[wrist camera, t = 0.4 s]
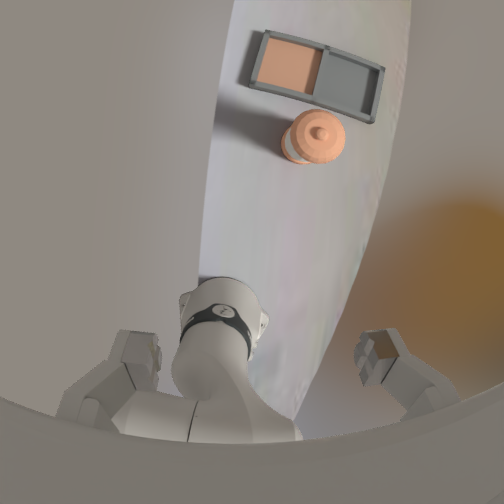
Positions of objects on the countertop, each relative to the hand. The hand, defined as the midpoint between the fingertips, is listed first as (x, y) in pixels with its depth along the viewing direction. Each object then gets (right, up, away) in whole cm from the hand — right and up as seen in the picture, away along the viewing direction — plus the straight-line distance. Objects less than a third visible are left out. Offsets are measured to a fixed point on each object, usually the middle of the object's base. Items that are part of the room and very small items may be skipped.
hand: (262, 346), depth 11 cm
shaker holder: (+12, +36, +34) cm, 51 cm away
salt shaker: (+8, +23, +38) cm, 45 cm away
